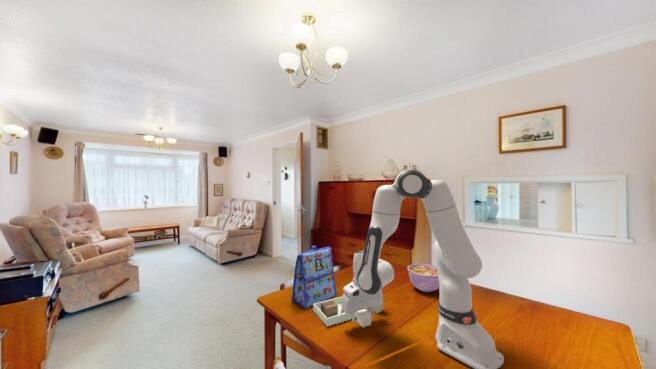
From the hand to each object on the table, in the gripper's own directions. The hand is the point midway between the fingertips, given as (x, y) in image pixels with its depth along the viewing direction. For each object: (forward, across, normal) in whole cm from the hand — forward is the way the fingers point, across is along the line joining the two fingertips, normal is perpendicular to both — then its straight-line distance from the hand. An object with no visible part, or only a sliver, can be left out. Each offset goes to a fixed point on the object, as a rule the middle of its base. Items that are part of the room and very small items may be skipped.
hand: (362, 317), depth 107 cm
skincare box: (+3, -13, -7) cm, 15 cm away
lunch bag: (+3, +9, -32) cm, 34 cm away
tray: (+3, +5, -13) cm, 14 cm away
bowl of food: (+2, -53, -11) cm, 54 cm away
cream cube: (+3, -1, 0) cm, 3 cm away
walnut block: (+2, +10, -13) cm, 16 cm away
